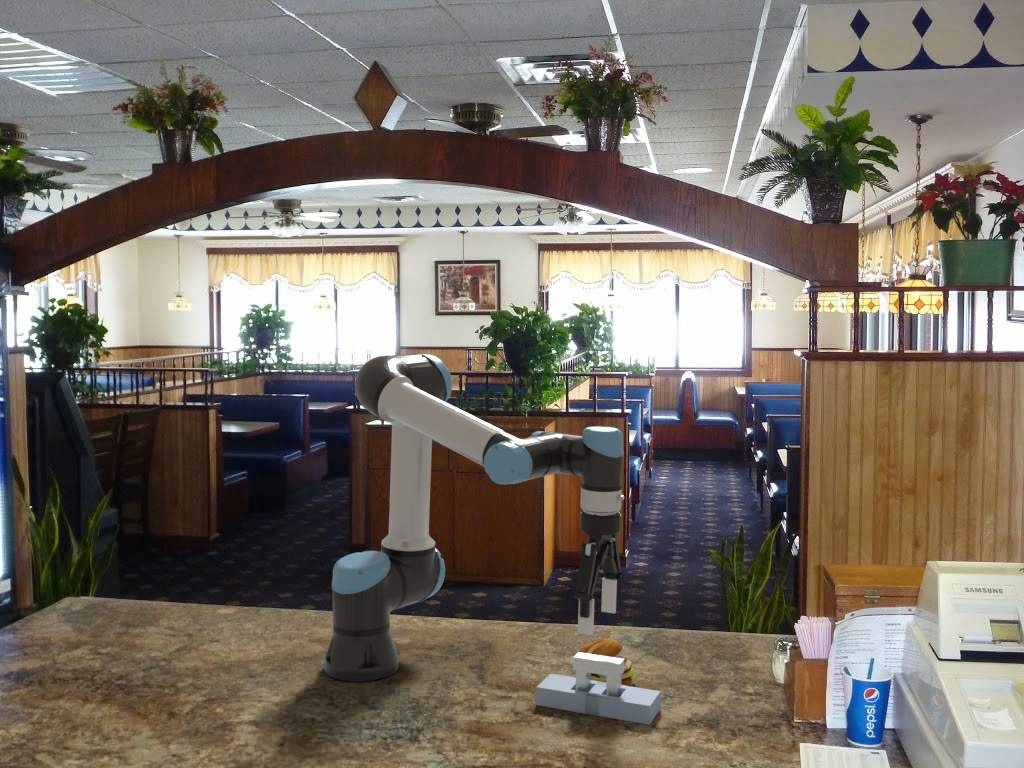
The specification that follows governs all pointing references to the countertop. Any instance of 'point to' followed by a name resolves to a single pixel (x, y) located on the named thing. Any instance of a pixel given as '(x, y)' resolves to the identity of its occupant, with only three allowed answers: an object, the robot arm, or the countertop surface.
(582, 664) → the clip
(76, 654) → the countertop surface
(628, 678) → the cheeseburger
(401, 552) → the robot arm
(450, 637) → the countertop surface
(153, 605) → the countertop surface
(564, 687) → the rail
